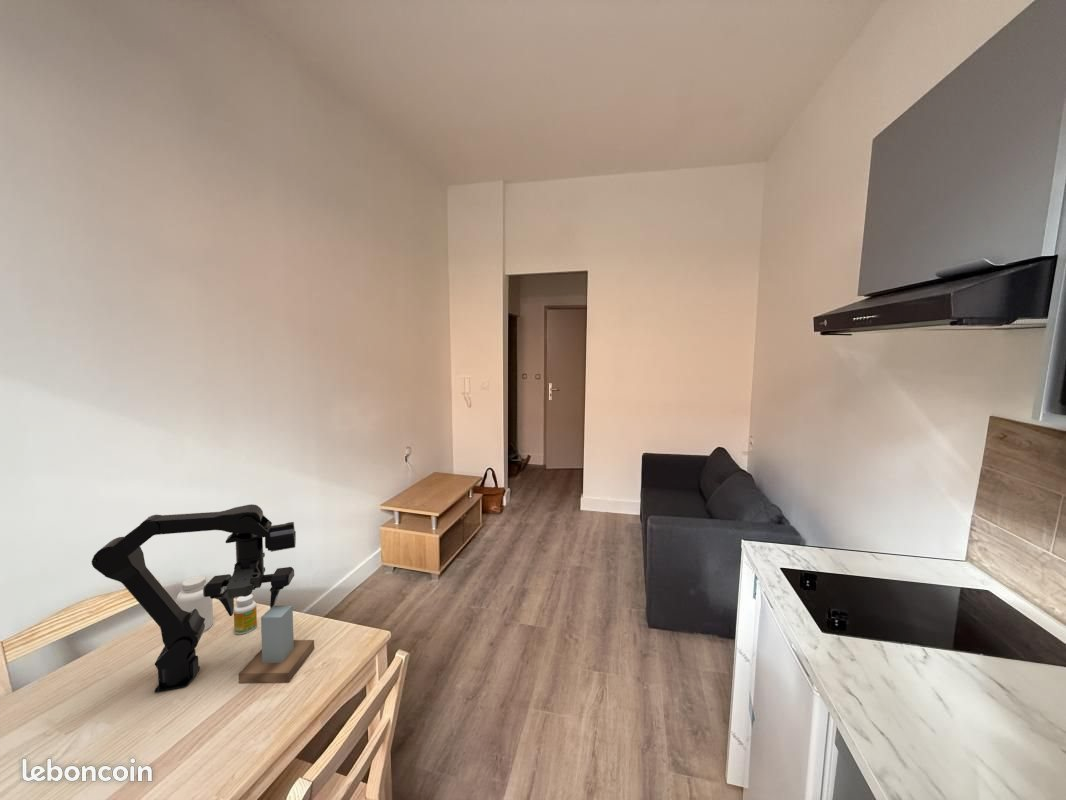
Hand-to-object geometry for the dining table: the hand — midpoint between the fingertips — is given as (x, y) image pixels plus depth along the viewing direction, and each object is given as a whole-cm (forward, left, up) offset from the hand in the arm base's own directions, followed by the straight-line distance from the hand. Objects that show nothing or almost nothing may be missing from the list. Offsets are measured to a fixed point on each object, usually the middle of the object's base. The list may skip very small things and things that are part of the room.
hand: (252, 612), depth 103 cm
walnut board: (+7, -4, -13) cm, 15 cm away
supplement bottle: (-7, +15, -13) cm, 21 cm away
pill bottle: (-21, +19, -13) cm, 31 cm away
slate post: (+7, -4, -11) cm, 13 cm away
